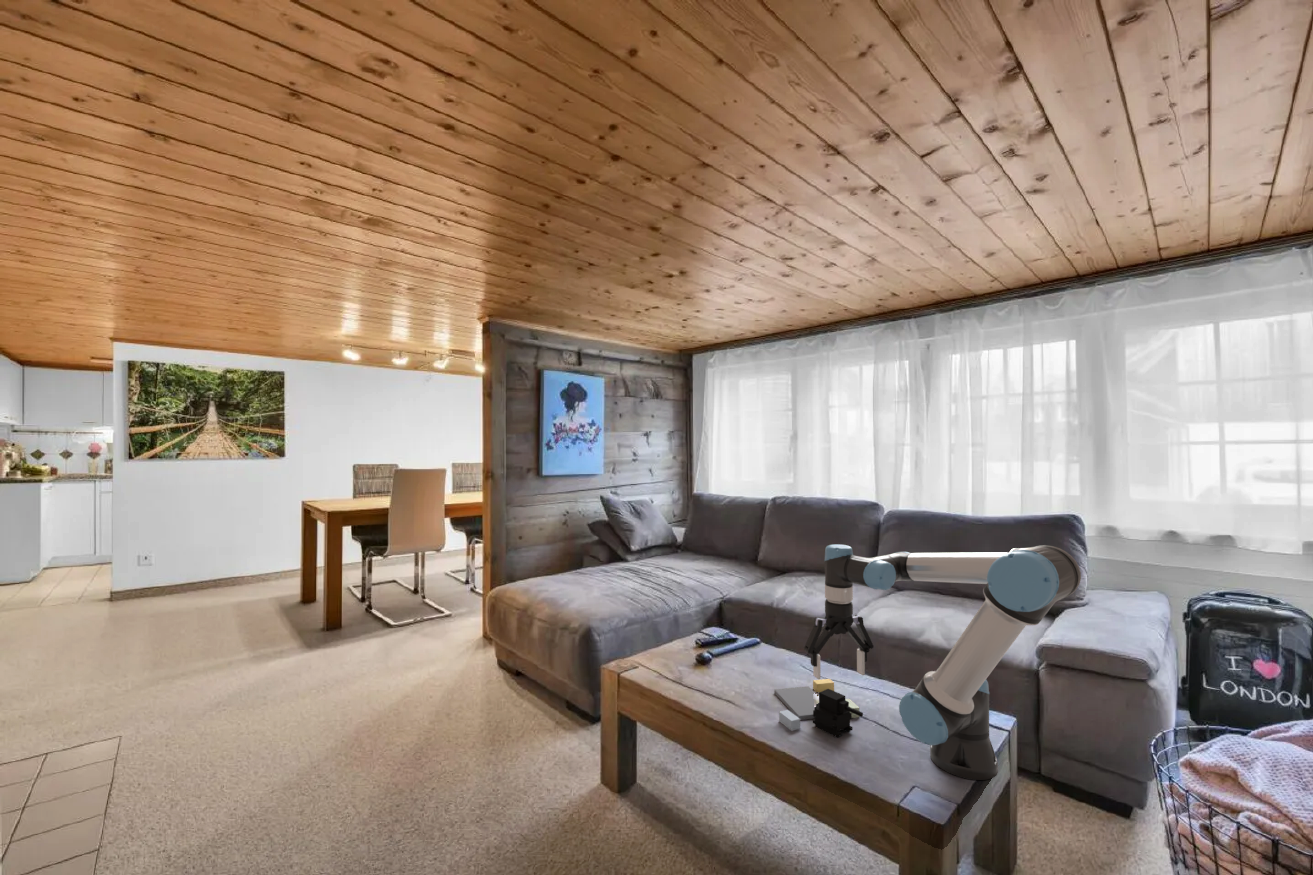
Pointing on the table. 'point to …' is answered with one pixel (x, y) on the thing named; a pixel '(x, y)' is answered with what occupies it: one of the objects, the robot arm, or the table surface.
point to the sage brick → (854, 706)
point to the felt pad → (798, 701)
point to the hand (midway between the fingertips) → (839, 675)
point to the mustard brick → (823, 685)
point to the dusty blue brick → (789, 720)
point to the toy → (833, 713)
